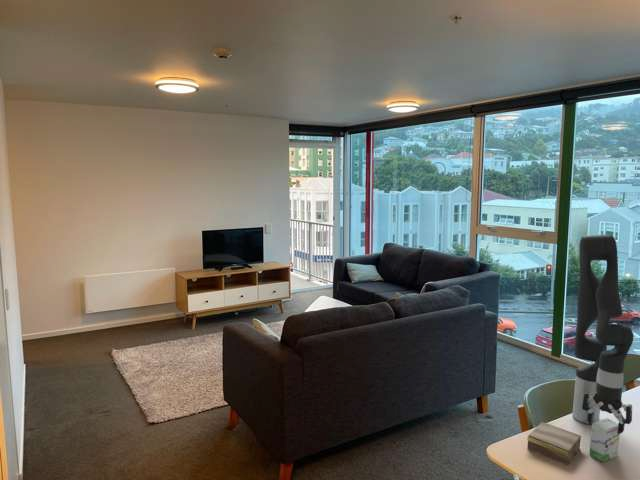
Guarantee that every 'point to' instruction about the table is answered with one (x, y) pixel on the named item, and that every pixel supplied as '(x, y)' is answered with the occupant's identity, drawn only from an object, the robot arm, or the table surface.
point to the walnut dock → (554, 442)
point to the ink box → (604, 440)
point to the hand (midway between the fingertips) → (604, 428)
